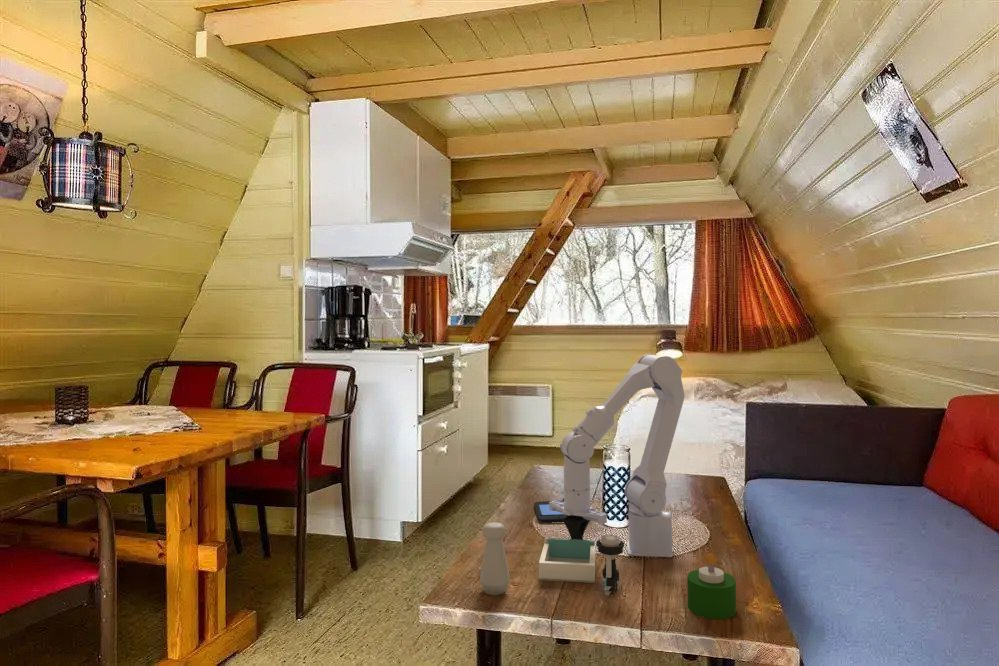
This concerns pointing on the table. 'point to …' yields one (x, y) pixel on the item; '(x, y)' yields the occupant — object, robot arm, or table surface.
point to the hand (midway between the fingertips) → (577, 549)
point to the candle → (711, 592)
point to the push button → (610, 561)
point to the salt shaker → (494, 560)
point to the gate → (569, 548)
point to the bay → (567, 567)
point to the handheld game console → (547, 513)
